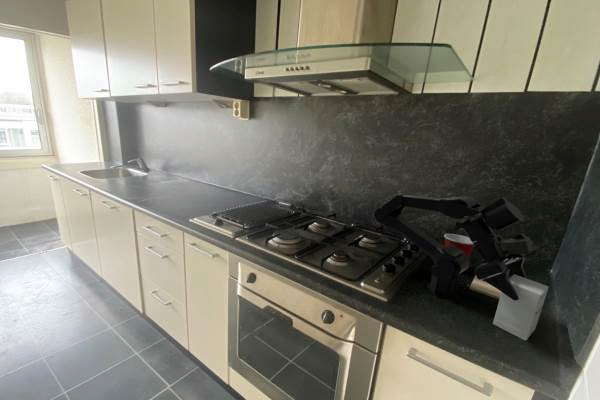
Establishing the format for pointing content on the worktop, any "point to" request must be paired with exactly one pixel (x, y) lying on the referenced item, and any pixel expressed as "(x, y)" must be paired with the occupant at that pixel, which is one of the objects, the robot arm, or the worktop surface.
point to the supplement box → (521, 307)
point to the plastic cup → (460, 243)
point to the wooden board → (485, 288)
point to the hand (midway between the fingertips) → (522, 294)
